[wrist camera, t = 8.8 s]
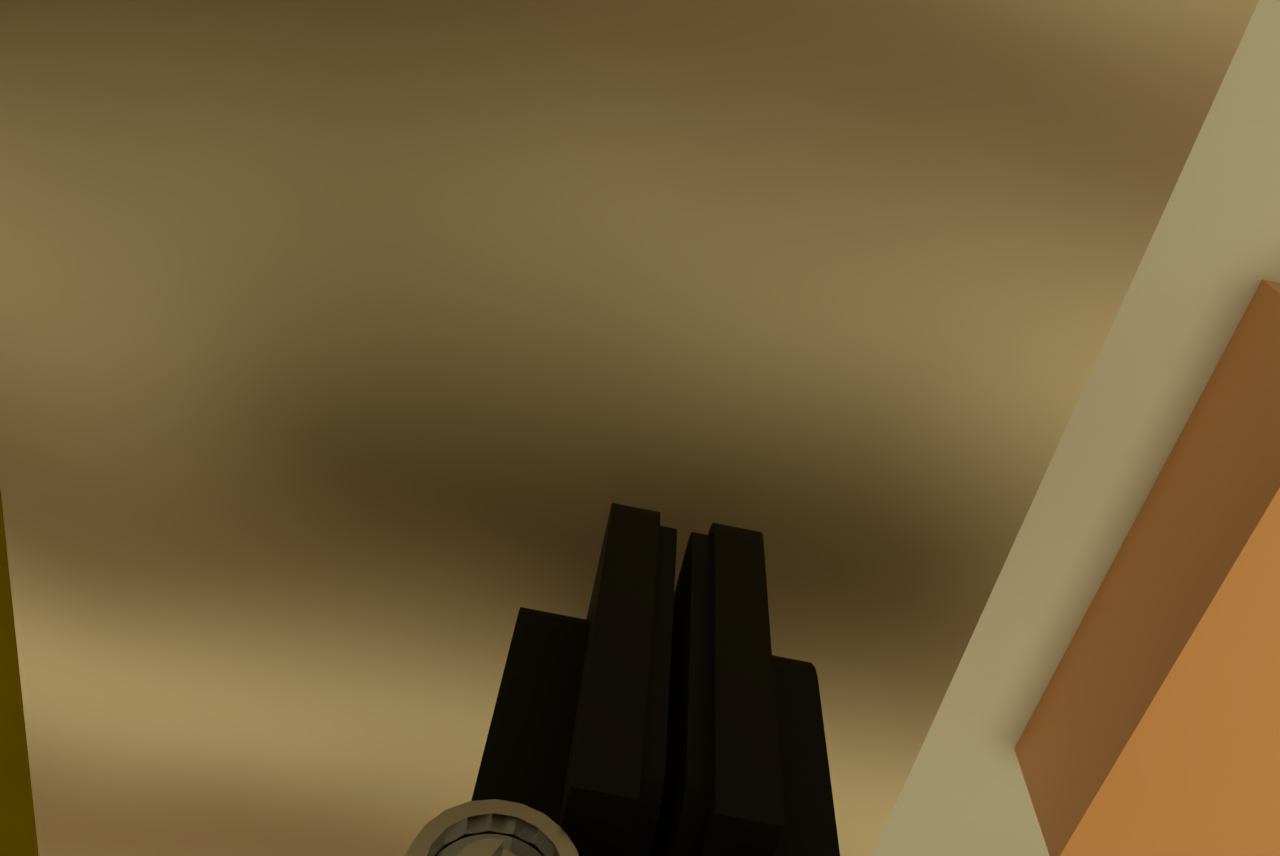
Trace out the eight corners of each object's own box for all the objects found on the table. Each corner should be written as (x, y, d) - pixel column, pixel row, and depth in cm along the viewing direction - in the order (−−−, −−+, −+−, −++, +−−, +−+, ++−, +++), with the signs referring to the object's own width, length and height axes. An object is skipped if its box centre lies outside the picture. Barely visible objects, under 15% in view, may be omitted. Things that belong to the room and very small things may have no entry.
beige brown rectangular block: (130, -663, 11) (-145, -903, 7) (1248, -389, 11) (1481, -493, 8) (162, 810, 22) (53, 997, 18) (745, 920, 22) (750, 1125, 18)
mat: (1205, -279, 12) (1216, -282, 12) (2035, -80, 12) (2064, -78, 12) (757, 888, 22) (757, 901, 21) (1234, 980, 22) (1239, 993, 22)
